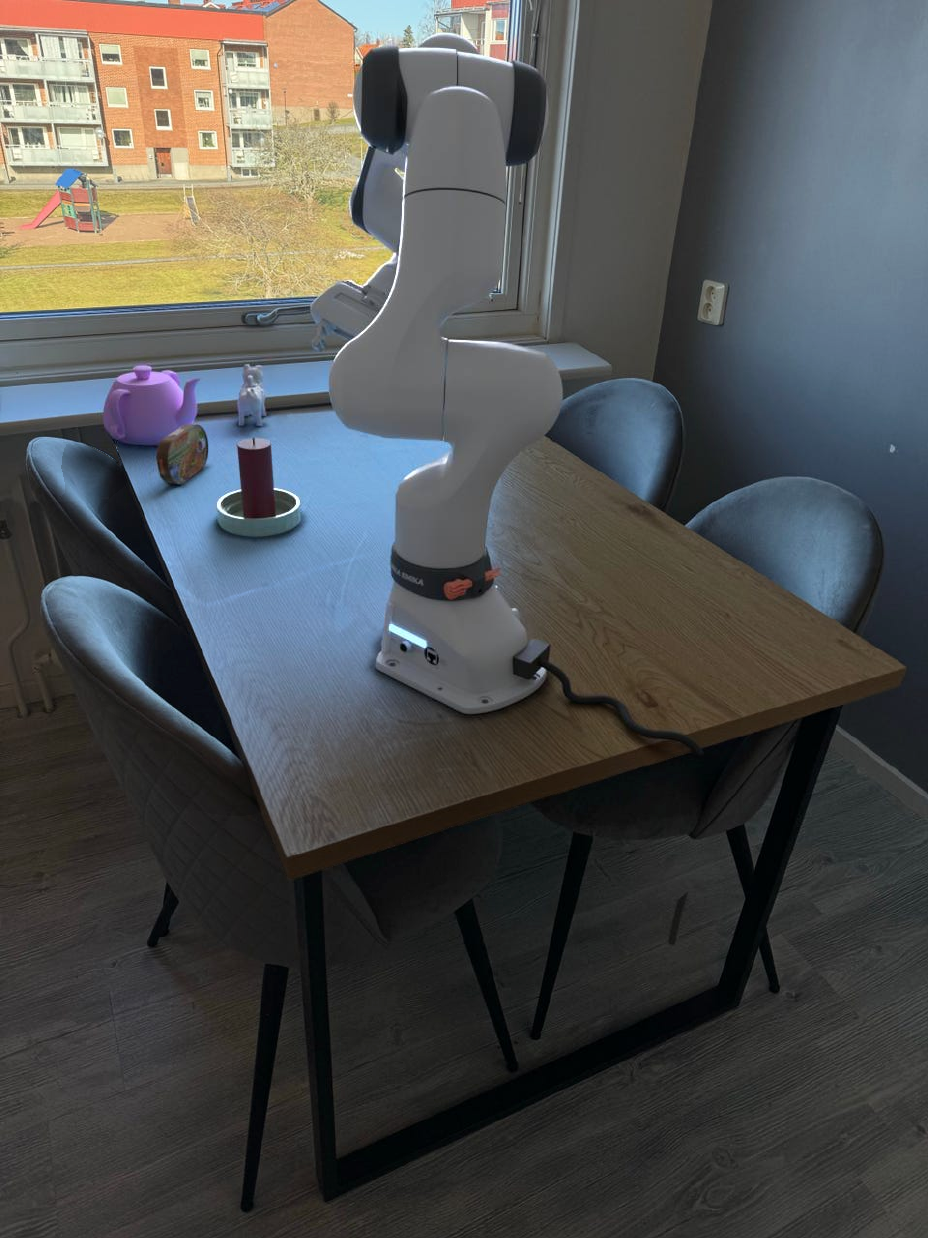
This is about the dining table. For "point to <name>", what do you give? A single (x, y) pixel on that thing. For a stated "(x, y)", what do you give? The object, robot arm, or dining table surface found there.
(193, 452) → the tin
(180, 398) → the teapot
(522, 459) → the dining table surface
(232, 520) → the bowl
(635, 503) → the dining table surface
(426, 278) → the robot arm
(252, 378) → the dog figurine
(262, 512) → the candle
